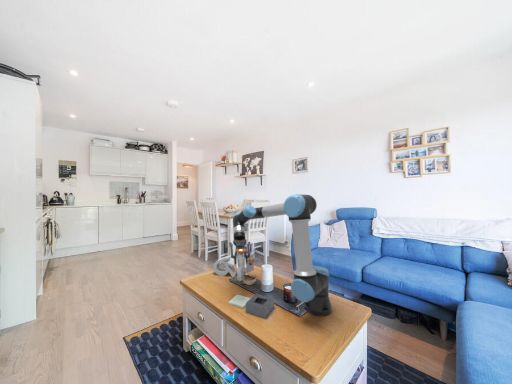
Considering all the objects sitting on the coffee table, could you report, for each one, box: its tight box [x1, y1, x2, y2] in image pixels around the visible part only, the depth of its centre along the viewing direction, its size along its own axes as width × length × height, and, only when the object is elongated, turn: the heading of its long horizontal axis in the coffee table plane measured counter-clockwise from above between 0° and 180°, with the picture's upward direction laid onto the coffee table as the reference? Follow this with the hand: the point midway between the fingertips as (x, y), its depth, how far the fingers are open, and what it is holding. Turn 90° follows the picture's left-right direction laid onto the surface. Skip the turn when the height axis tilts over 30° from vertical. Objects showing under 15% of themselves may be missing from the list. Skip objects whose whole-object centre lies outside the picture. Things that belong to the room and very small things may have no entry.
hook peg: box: [235, 247, 247, 282], centre depth 124 cm, size 6×6×18 cm
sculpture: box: [212, 254, 237, 278], centre depth 164 cm, size 18×6×15 cm, turn 77°
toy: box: [244, 250, 255, 274], centre depth 161 cm, size 10×17×20 cm, turn 44°
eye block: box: [245, 293, 275, 320], centre depth 116 cm, size 12×12×5 cm
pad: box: [227, 294, 252, 309], centre depth 124 cm, size 10×10×1 cm
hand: (241, 268), depth 120 cm, fingers closed on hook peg, 4 cm apart
